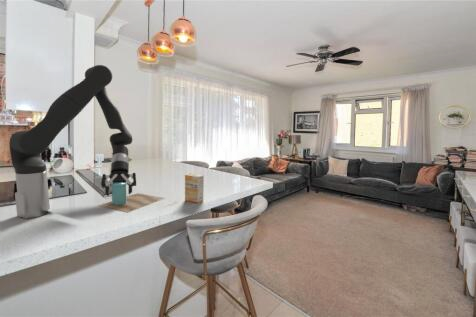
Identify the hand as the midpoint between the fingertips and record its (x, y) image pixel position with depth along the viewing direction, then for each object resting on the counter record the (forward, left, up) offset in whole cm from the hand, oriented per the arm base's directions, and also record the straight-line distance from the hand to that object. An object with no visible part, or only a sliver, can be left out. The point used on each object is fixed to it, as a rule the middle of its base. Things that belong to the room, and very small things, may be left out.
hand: (118, 194), depth 104 cm
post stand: (+5, -3, -6) cm, 8 cm away
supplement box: (+23, -24, -6) cm, 34 cm away
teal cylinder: (+1, +1, -4) cm, 5 cm away
